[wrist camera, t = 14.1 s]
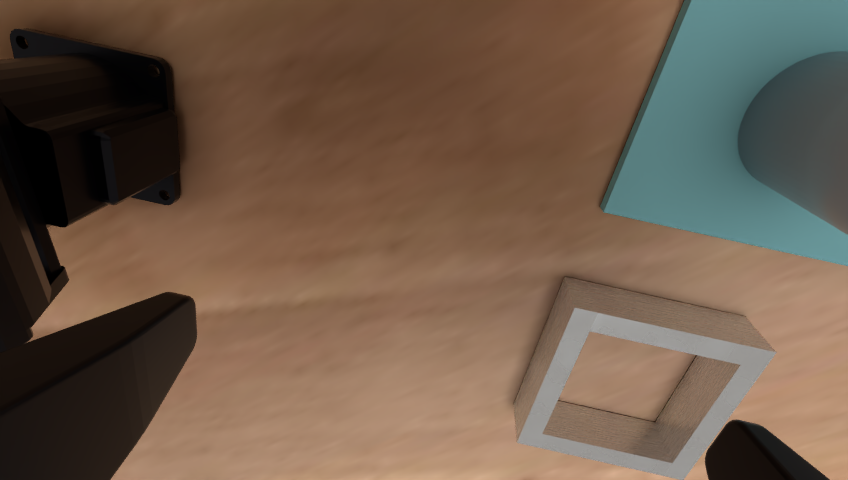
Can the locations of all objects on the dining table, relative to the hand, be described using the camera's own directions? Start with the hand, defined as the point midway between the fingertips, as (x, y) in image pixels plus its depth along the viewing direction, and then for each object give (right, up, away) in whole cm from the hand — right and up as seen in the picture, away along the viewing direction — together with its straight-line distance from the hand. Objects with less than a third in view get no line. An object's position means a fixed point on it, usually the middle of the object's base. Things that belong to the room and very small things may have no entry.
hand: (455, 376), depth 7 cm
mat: (+14, +7, +10) cm, 18 cm away
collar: (+9, -4, +16) cm, 19 cm away
